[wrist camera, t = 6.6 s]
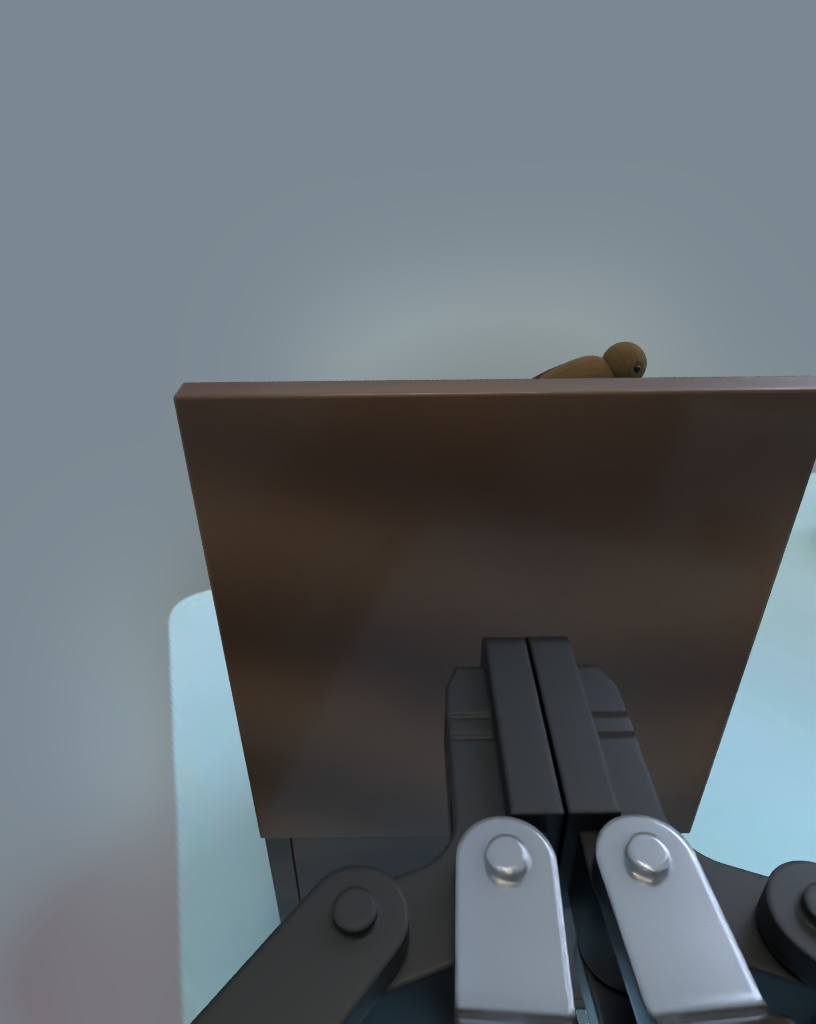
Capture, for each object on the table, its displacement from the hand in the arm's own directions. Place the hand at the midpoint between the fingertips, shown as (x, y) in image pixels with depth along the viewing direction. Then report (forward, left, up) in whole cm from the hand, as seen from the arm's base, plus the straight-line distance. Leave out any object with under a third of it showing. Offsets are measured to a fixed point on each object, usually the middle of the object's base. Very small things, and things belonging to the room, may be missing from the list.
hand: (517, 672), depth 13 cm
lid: (-2, -4, -3) cm, 6 cm away
